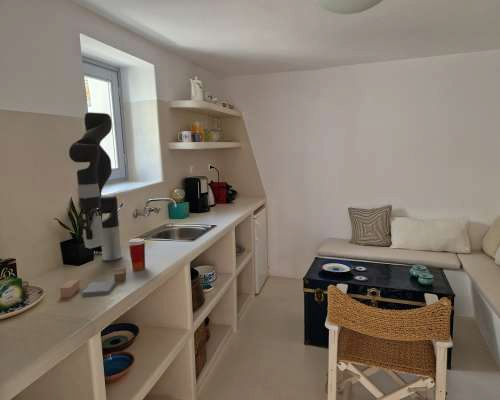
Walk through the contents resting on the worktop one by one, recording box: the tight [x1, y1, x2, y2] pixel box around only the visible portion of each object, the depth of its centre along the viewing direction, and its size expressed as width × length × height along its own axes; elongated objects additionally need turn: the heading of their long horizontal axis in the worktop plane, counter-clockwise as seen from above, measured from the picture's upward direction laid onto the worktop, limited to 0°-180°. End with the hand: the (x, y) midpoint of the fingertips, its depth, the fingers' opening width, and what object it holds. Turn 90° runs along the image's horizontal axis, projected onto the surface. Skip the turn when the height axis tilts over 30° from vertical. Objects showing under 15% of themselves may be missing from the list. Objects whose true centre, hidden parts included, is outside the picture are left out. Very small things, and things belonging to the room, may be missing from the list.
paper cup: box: [127, 237, 146, 272], centre depth 161 cm, size 8×8×14 cm
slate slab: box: [81, 280, 117, 297], centre depth 138 cm, size 10×10×2 cm
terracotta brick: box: [59, 279, 81, 298], centre depth 136 cm, size 8×4×4 cm, turn 5°
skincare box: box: [82, 215, 104, 249], centre depth 135 cm, size 6×4×12 cm
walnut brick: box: [113, 266, 127, 284], centre depth 149 cm, size 8×4×4 cm, turn 16°
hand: (93, 236), depth 135 cm, fingers closed on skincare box, 7 cm apart
